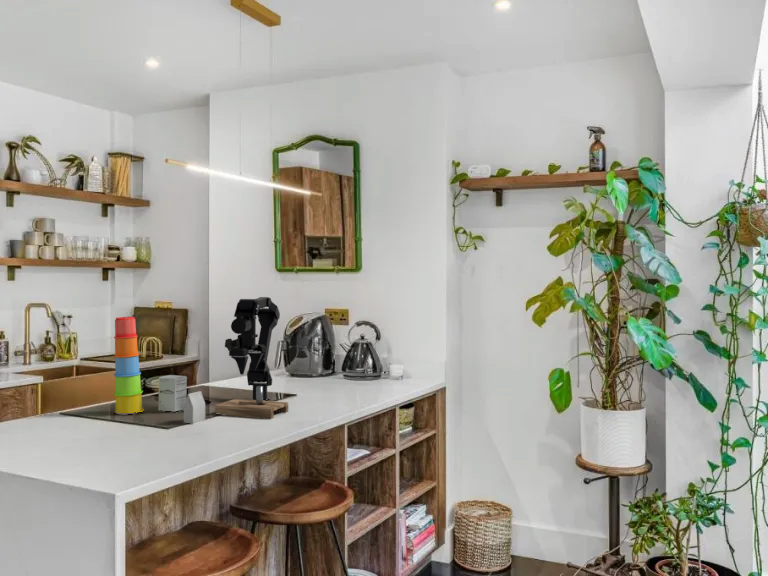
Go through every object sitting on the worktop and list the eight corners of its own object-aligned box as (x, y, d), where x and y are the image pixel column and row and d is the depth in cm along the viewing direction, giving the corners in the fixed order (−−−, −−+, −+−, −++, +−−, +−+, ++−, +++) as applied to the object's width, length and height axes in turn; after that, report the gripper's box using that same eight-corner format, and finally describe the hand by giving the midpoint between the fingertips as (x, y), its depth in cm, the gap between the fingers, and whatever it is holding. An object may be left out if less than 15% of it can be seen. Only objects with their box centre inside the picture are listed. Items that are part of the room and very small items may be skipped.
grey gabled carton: (205, 420, 234) (205, 391, 234) (192, 424, 228) (193, 394, 228) (196, 419, 236) (196, 390, 235) (183, 423, 229) (183, 393, 229)
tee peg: (256, 412, 250) (256, 385, 249) (268, 413, 248) (268, 385, 248) (250, 414, 245) (250, 386, 245) (262, 415, 244) (262, 387, 244)
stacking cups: (138, 415, 242) (138, 317, 241) (109, 415, 242) (109, 317, 241) (148, 410, 252) (148, 316, 252) (120, 410, 252) (120, 316, 252)
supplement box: (157, 411, 249) (157, 377, 249) (170, 408, 256) (170, 374, 256) (174, 413, 247) (175, 378, 247) (187, 409, 254) (187, 375, 254)
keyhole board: (235, 408, 257) (235, 398, 257) (288, 411, 251) (288, 402, 251) (215, 414, 244) (215, 405, 244) (270, 419, 238) (270, 408, 238)
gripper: (241, 329, 271) (240, 368, 272) (216, 333, 253) (216, 375, 254) (266, 330, 268) (266, 370, 268) (243, 334, 250) (243, 376, 250)
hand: (247, 372), depth 260 cm, fingers open, 9 cm apart
